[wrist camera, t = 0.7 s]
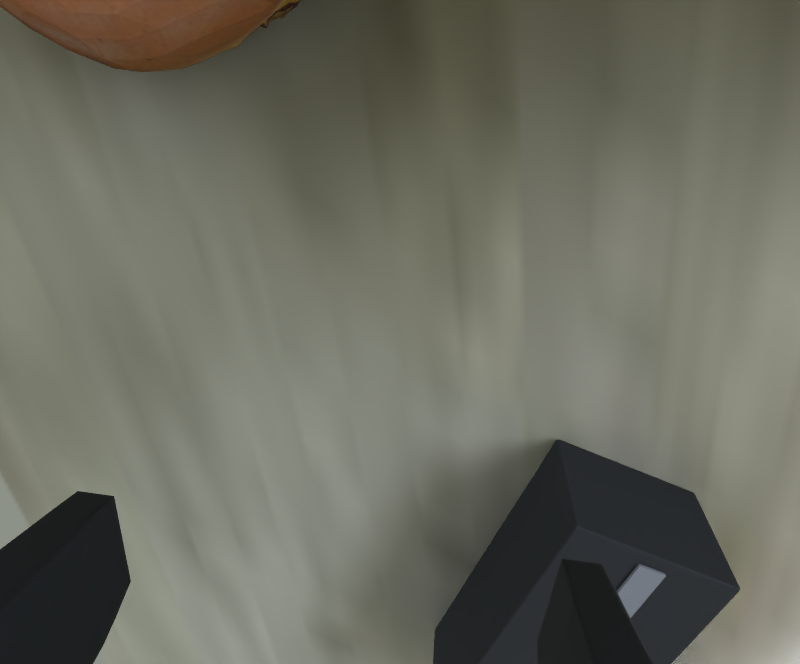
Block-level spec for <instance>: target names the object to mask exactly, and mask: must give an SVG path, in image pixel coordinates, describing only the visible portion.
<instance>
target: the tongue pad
mask: <svg viewBox="0 0 800 664" xmlns="http://www.w3.org/2000/svg"><path fill="white" fill-rule="evenodd" d="M562 559H568V560H575V561H582V562H589V563H597V564H602V565H603V567H604V568H605V569H606V570H607V572H608V574H609V576H610V578H611V581H612V583H613V585H614V587H615V589H616V591H617V593H618V595H619V597H620V599H621V601H622V603H623V605H624V607H625V609H626V611H627V613H628V615H629V617H630V618H631V620H632V622H633V624H634V626H635V628H636V630H637V632H638V634H639V636H640V637H641V639H642V641H643V643H644V645H645V647H646V649H647V651H648V652H649V654H650V656H651V658H652V660H653V662H654V663H655V664H671V663H672V662H673V661H674V660H675V659H676V658H677V657H678V656H679V655H680V654H681V653H682V652H683V650H684V649H685V648H686V647H687V646H688V645H689V644H690V643H691V642H692V641H693V640H694V639H695V638H696V637H697V636H698V634H699V633H700V632H701V631H702V630H703V629H704V628H705V627H706V626H707V625H708V624H709V623H710V622H711V621H712V620H713V618H714V617H715V616H716V615H717V614H718V613H719V612H720V611H721V610H722V609H723V608H724V607H725V606H726V605H727V604H728V602H729V601H730V600H731V599H732V598H733V597H734V596H735V595H736V594H737V593H738V592H739V590H740V587H739V585H738V583H737V581H736V579H735V577H734V575H733V573H732V571H731V569H730V567H729V564H728V562H727V560H726V558H725V556H724V554H723V552H722V550H721V548H720V546H719V544H718V542H717V539H716V537H715V535H714V533H713V531H712V529H711V527H710V525H709V523H708V521H707V519H706V517H705V515H704V512H703V510H702V508H701V506H700V504H699V502H698V500H697V498H696V496H695V494H694V493H693V492H690V491H687V490H685V489H682V488H680V487H677V486H675V485H672V484H670V483H667V482H665V481H662V480H660V479H657V478H655V477H652V476H649V475H647V474H644V473H642V472H639V471H637V470H634V469H632V468H629V467H627V466H624V465H622V464H619V463H617V462H614V461H611V460H609V459H606V458H604V457H601V456H599V455H596V454H594V453H591V452H589V451H586V450H584V449H581V448H579V447H576V446H573V445H571V444H568V443H566V442H563V441H561V440H556V442H555V443H554V445H553V447H552V448H551V450H550V451H549V453H548V454H547V456H546V458H545V459H544V461H543V462H542V464H541V465H540V467H539V468H538V470H537V472H536V473H535V475H534V476H533V478H532V479H531V481H530V483H529V484H528V486H527V487H526V489H525V490H524V492H523V493H522V495H521V497H520V498H519V500H518V501H517V503H516V504H515V506H514V508H513V509H512V511H511V512H510V514H509V515H508V517H507V519H506V520H505V522H504V523H503V525H502V526H501V528H500V529H499V531H498V533H497V534H496V536H495V537H494V539H493V540H492V542H491V544H490V545H489V547H488V548H487V550H486V551H485V553H484V554H483V556H482V558H481V559H480V561H479V562H478V564H477V565H476V567H475V569H474V570H473V572H472V573H471V575H470V576H469V578H468V580H467V581H466V583H465V584H464V586H463V587H462V589H461V590H460V592H459V594H458V595H457V597H456V598H455V600H454V601H453V603H452V605H451V606H450V608H449V609H448V611H447V612H446V614H445V615H444V617H443V619H442V620H441V622H440V623H439V625H438V626H437V628H436V630H435V640H434V660H433V664H538V656H537V640H538V636H539V633H540V630H541V626H542V623H543V620H544V616H545V613H546V610H547V607H548V603H549V600H550V597H551V593H552V590H553V587H554V583H555V580H556V577H557V573H558V570H559V567H560V563H561V560H562Z"/></svg>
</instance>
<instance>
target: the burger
mask: <svg viewBox="0 0 800 664" xmlns="http://www.w3.org/2000/svg"><path fill="white" fill-rule="evenodd" d="M299 2H300V0H0V7H2V8H3V9H4V10H6V11H7V12H8V13H10V14H11V15H13V16H14V17H15V18H17V19H18V20H19V21H21V22H22V23H23V24H25V25H26V26H28V27H29V28H30V29H32V30H34V31H36V32H37V33H39V34H41V35H43V36H44V37H46V38H48V39H50V40H51V41H53V42H55V43H57V44H58V45H60V46H62V47H64V48H65V49H67V50H70V51H72V52H75V53H77V54H80V55H82V56H85V57H87V58H90V59H92V60H95V61H97V62H100V63H102V64H105V65H107V66H110V67H112V68H116V69H123V70H130V71H137V72H150V71H164V70H176V69H183V68H186V67H189V66H191V65H194V64H197V63H199V62H201V61H204V60H206V59H208V58H210V57H213V56H215V55H217V54H219V53H221V52H223V51H226V50H229V49H232V48H234V47H237V46H239V45H240V43H241V42H242V41H243V39H245V38H246V37H247V36H248V35H249V34H250V33H252V32H253V31H254V30H255V29H256V28H257V27H259V26H262V27H264V28H267V26H268V24H269V21H272V20H274V19H276V18H278V17H279V18H284V17H285V15H286V14H287V13H288V12H289V11H291V10H292V9H293V8H295V7H296V6H297V5H298V3H299Z"/></svg>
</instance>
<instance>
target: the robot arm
mask: <svg viewBox="0 0 800 664" xmlns="http://www.w3.org/2000/svg"><path fill="white" fill-rule="evenodd" d="M130 582H131V580H130V575H129V570H128V565H127V560H126V555H125V550H124V545H123V540H122V535H121V529H120V524H119V519H118V514H117V509H116V504H115V499H114V496H109V495H101V494H94V493H87V492H80V491H77V492H76V493H75V494H73V495H72V496H71V497H69V498H68V499H67V500H65V501H64V502H62V503H61V504H60V505H58V506H57V507H56V508H54V509H53V510H52V511H50V512H49V513H48V514H46V515H45V516H44V517H42V518H41V519H40V520H39V521H37V522H36V523H35V524H33V525H32V526H31V527H29V528H28V529H27V530H25V531H24V532H23V533H21V534H20V535H19V536H17V537H16V538H15V539H14V540H12V541H11V542H10V543H8V544H7V545H6V546H4V547H3V548H2V549H0V664H93V662H94V661H95V659H96V657H97V655H98V653H99V652H100V650H101V648H102V646H103V644H104V642H105V640H106V638H107V636H108V633H109V631H110V629H111V627H112V624H113V622H114V620H115V618H116V615H117V613H118V611H119V608H120V606H121V603H122V601H123V599H124V596H125V594H126V591H127V589H128V586H129V584H130ZM537 656H538V664H655V663H654V662H653V660H652V658H651V656H650V654H649V652H648V651H647V649H646V647H645V645H644V643H643V641H642V639H641V637H640V636H639V634H638V632H637V630H636V628H635V626H634V624H633V622H632V620H631V618H630V617H629V615H628V613H627V611H626V609H625V607H624V605H623V603H622V601H621V599H620V597H619V595H618V593H617V591H616V589H615V587H614V585H613V583H612V581H611V578H610V576H609V574H608V572H607V570H606V569H605V568H604V567H603V565H602V564H597V563H589V562H582V561H575V560H568V559H562V560H561V563H560V567H559V570H558V573H557V577H556V580H555V583H554V587H553V590H552V593H551V597H550V600H549V603H548V607H547V610H546V613H545V616H544V620H543V623H542V626H541V630H540V633H539V636H538V640H537Z"/></svg>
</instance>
